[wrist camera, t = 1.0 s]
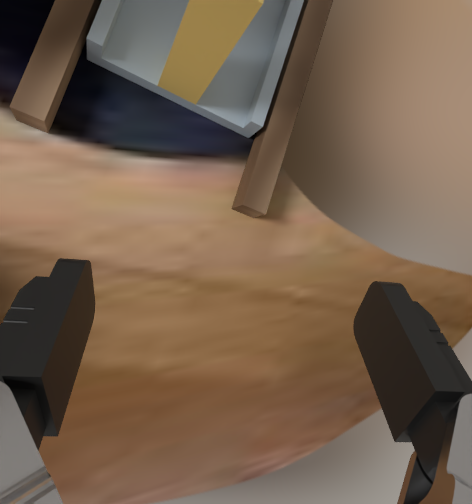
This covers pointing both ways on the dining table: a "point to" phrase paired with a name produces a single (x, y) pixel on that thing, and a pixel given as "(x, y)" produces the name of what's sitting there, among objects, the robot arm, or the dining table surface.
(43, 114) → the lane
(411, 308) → the robot arm
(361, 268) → the dining table surface
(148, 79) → the shallow grey tray
